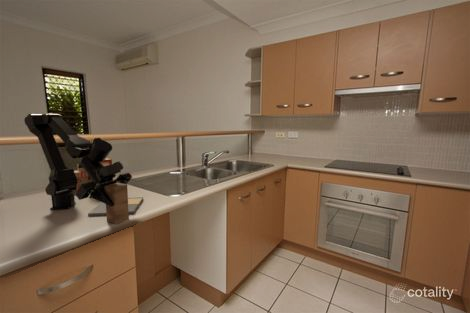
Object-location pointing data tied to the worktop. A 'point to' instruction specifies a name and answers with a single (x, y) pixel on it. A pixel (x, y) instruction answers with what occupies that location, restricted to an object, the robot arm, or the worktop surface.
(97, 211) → the baseplate
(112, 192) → the walnut post
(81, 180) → the orange red carton
